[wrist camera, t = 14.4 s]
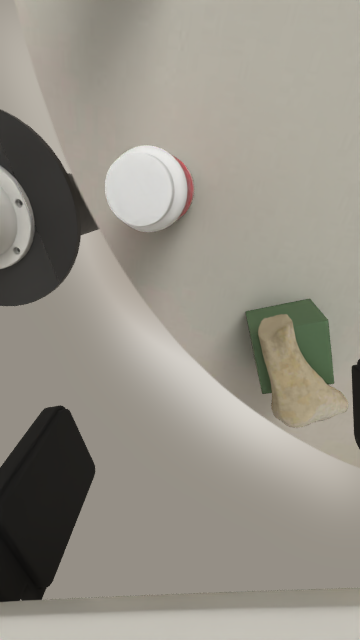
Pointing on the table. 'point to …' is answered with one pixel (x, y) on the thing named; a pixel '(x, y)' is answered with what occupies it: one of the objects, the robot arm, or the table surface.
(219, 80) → the table surface
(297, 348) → the bone
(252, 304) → the table surface
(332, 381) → the green block
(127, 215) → the pill bottle
